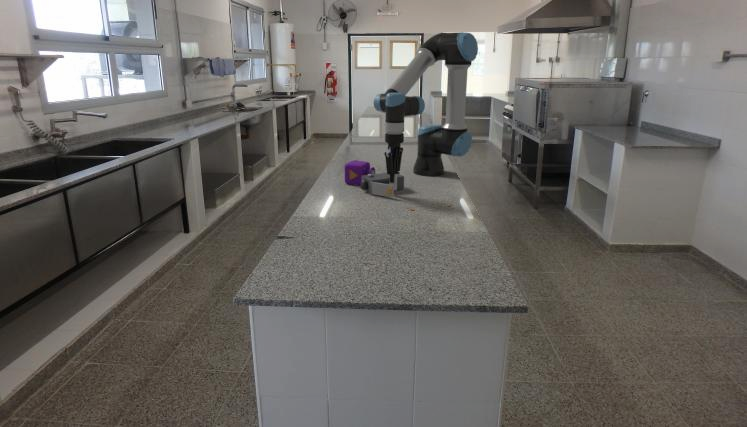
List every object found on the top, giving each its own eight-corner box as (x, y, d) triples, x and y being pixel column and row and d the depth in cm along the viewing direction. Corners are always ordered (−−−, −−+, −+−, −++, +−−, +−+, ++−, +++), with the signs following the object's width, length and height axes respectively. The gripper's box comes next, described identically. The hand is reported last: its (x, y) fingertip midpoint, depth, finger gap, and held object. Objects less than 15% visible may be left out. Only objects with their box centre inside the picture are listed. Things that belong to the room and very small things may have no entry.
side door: (393, 197, 200) (394, 184, 198) (392, 198, 199) (392, 185, 197) (371, 193, 205) (371, 181, 203) (369, 194, 203) (369, 182, 202)
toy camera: (373, 187, 216) (373, 165, 212) (343, 185, 218) (342, 163, 215) (377, 181, 226) (378, 159, 222) (349, 179, 228) (348, 158, 225)
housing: (393, 184, 219) (393, 170, 217) (403, 189, 212) (404, 174, 210) (358, 189, 212) (358, 174, 210) (367, 194, 204) (367, 179, 202)
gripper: (393, 129, 203) (391, 184, 210) (378, 134, 192) (377, 192, 199) (409, 131, 199) (407, 187, 207) (395, 135, 188) (394, 194, 196)
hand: (393, 189), depth 203 cm, fingers closed
